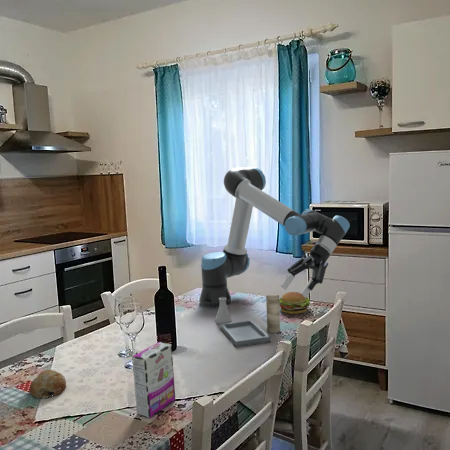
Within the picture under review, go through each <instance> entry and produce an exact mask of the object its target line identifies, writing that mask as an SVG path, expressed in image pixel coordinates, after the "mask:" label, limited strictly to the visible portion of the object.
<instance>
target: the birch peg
mask: <svg viewBox="0 0 450 450" xmlns="http://www.w3.org/2000/svg"><path fill="white" fill-rule="evenodd" d="M265 299H266V300H265V302H266V304H265V305H266V307H265V308H266V333H267V332H268V333H269V334H278V333H280V332H281V313H280V311H281V307H280V306H279V299H280V295H279V294H276V293H273V294H272V293H270V294H267V295H266V297H265Z"/></svg>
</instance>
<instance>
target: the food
mask: <svg viewBox="0 0 450 450" xmlns="http://www.w3.org/2000/svg"><path fill="white" fill-rule="evenodd" d="M309 306H310V298H309V296H307V297H306V298H305V297H304V296H303V295H302V294H301V292H298V291H289V292H285V293H284V294H282V295H281V297H279V307H280V311H281V312H282V313H284V314H290V315H298V314H304V313H305V312H307V311H308V307H309Z"/></svg>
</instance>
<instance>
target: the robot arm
mask: <svg viewBox="0 0 450 450" xmlns="http://www.w3.org/2000/svg"><path fill="white" fill-rule="evenodd" d="M266 182H267V181H266V176H265V174H264V173H263V171H262V170H261V169H260V168H258V167H252V166H248V167H235V168H232V169H230V170H228V171H227V172H226V173H225V175H224V177H223V185H224V188H225V190H226V191H227V193H228V194H230V195H231V196H233V197H234V198H235V203H234V207H233V213H232V214H233V215H232V219H231V224H230V228H229V229H230V230H229V236H228V239H227V240H228V241H227V244H226V245H224V246H223V250H222V251H214V252H209V253H207V254H204V255H203V256H202V257H201V264H200V267H201V281H202V282H201V283H202V289H201V292H200V295H199V301H198V302H199V305H200V306H202V307H205V308H219V305H220V301H219V298H226V306H229V305H231V304H232V296H231V293H230V291H229V288H228V278H231V277H234V276H239V275H241V274H243V273H245V272H246V271H247V270H248V269H249V266H250V261H251V260H250V257H249V254H248V250H247V249H246V244H247V238H248V233H249V230H250V223H251V218H252V213H253V208H255V209H257V210H258V211H260V212H262V213H263V214H265V215H266V216H268V217H270V218H271V219H272V220H274V221H275V222H277V223H278V224H280V225H282V226H283V227H284V231H286V233H287V234H288V235H290V236H301V235H303V234H307V233H312V232H316V233H317V234H321V235H320V236H319V238H318V239H317V240H316V242H315V244H314V245H313V246H312V248H311V249H310V252H309V253H310V254H309V256H307V255H306V254H303V255H302V257H300V259H298V260H297V261H296V262H295V263H293V264H292V265H291V266H290V267H289V268H288V269H287V272H288V274H287V275H286V277H285V279H284V280H283V282H282V283H281V285H280V287H281V288H282V289H284V291H287V289H288V287H289V286H290V285H291V283H292V282H293V280H294V279H295V277H296V276H297V275H298V274H300V273H302V272H303V271H306V270H312V271H311V272H312V273H311V275H312V277H311V279H309V281H308V282H307V284H305V286H304V288H303V289H302V291H301V292H300V293H301V294H302V295H303V296H304V297H305V298H306V297H309V294H310V293H311V291H312V290H314V288H315V287H316V285H318V284H320V285H322V284H323V281H324V279H325V278H324V277H325V274H326V269H327V268H328V266H329V263H328V261H327V260H328V259H330V257H331V254H333V252H334V250H336V248H337V247H338V245H339V243H340V242H341V241H342V239H343V238H344V236H345V235H347V234H346V233H348V230H349V229H350V226H351V225H350V222H349V221H348V219H347V218H345V217H343V216H341V215H337V214H336V215H335V216H333V218H331V217H329V216H326V215H325V214H322V213H319V212H318V211H316V210H313V209H311V208H306V209H305V210H303V212H301V214H300V213H299V212H296V211H295V210H294V209H292V208H291V207H288V206H287V205H286V204H284V203H282V202H281V201H280V200H277V199H276V198H275V197H273V196H271V195H270V194H268V193H267V192H265V191H263V190H264V189H265V187H266V184H267V183H266Z"/></svg>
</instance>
